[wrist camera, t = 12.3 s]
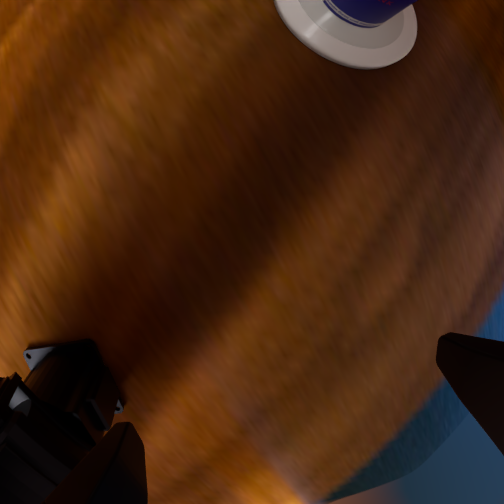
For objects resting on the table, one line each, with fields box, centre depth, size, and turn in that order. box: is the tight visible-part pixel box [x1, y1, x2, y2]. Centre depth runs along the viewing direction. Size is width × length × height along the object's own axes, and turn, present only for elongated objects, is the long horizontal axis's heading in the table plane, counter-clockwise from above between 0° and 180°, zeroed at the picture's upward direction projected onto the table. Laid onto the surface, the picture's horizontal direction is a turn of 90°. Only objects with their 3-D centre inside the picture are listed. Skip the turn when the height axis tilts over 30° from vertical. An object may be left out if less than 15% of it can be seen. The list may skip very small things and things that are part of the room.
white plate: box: [274, 0, 417, 70], centre depth 17 cm, size 11×11×1 cm
